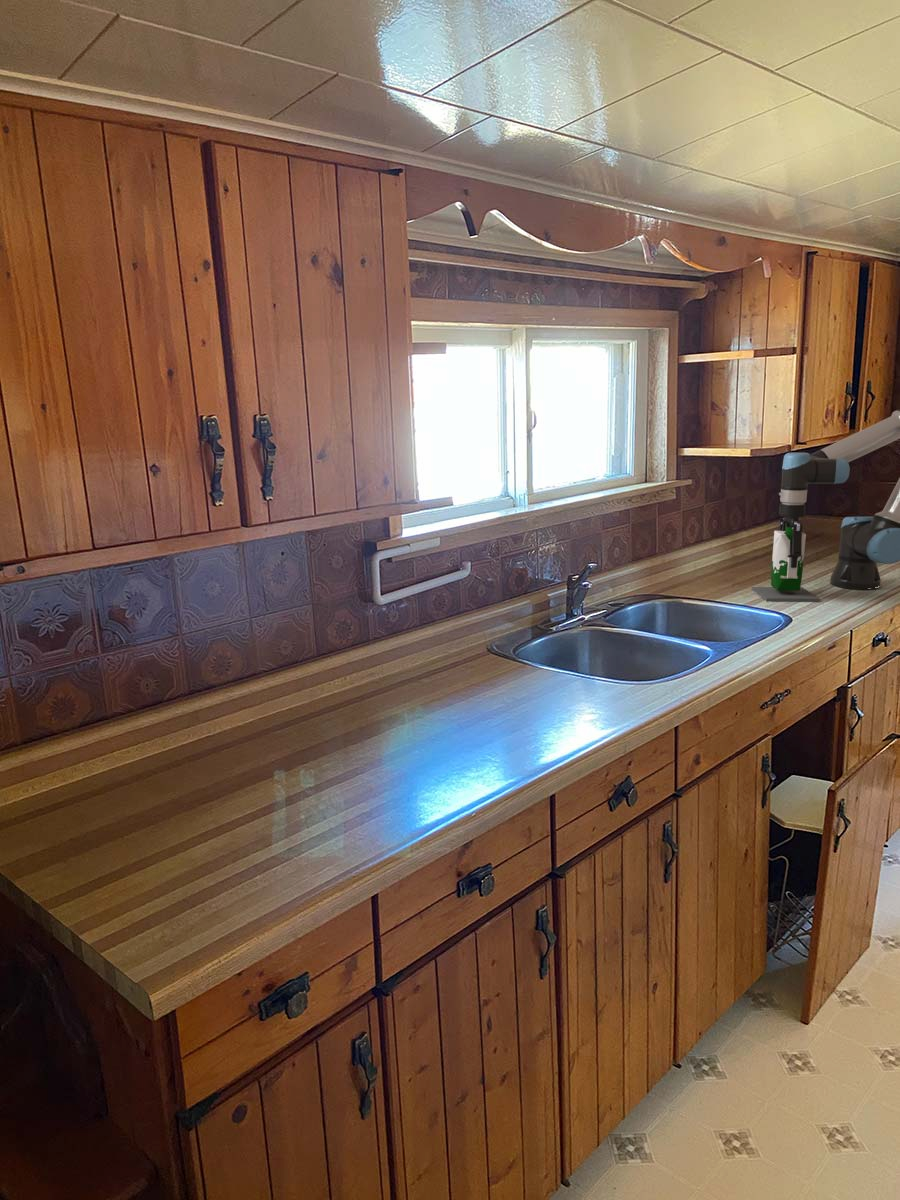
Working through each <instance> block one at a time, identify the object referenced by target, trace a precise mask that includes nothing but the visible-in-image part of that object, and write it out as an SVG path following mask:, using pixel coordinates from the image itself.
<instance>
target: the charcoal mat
mask: <svg viewBox="0 0 900 1200" xmlns="http://www.w3.org/2000/svg"><path fill="white" fill-rule="evenodd" d="M751 591H753V592H754V593H755V592H756V593H757V594H756V593H755V594H756V595H758V596H759V597H760V596H761V597H762V598H761V597H760V598H761V599H763V600H764V601H765V600H766V601H765V602H768V601H771V602H772V603H773V602H779V603H780V602H781V603H782V602H784V603H785V602H789V603H794V602H795V603H796V602H800V603H803V602H804V603H805V602H806V603H807V602H809V603H819V602H820V600H821V599H820V598H819V597H818V596H816V595H815V594H813V593H812V592H810V591H808V590H807V589H805V588H804V587H803V586H800V591H779V590H778V591H777V590H776V589H775V588H773V587H772V586H751ZM771 602H770V603H771Z"/></svg>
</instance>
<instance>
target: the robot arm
mask: <svg viewBox="0 0 900 1200" xmlns="http://www.w3.org/2000/svg"><path fill="white" fill-rule="evenodd" d="M899 439H900V408H899V409H896V410H895V411H892V413H891V416H889V417H886V418H885V419H883V420H880V421H878V422H876V423H874V424H872V425H870V426H868V427H866V428H864V429H862V430H860V431H857V432H855V433H853V434H851V435H849V436H846V437H845V438H843V439H840V440H838V441H836V442H834V443H832V444H830V445H828V446H826V447H824V448H822V449H819V450H817V451H815V452H813V453H808V452H788V453H786V454H784V455H783V460H782V467H781V468H782V470H781V486H780V492H778V496H780V497H779V500H780V503H779V508H778V516H780V517H782V518H780V519H779V529H778V531H785V529H786V527H791V528H792V529H793V531H792V541H790V555H788V569H787V578H797V566H798V557H799V556H801V555H802V532H803V524H802V523H800V521H799V518H802V517H805V515H806V504H805V503H807V495H808V486H809V485H811V484H812V485H813V484H815V485H816V484H820V485H821V484H822V485H823V484H831V485H836V484H844V483H845V482H846V481H847V480H848V479H849V477H850V472H851V471H850V469H851V468H850V465H849V463H850V462H852V461H854V460H856V459H859V458H861V457H863V456H865V455H867V454H870V453H871V452H873V451H874V452H875V451H876V450H878V449H880V448H882V447H885V446H887V445H889V444H891V443H893V442H895V441H898V440H899ZM808 484H809V485H808ZM839 537H840V538H839V549H838V559H837V563H836V565H835V567H834V569H833V571H832V573H831V575H830V582H829V584H830V585H832V586H833V587H834V586H835V587H838V588H842V589H843V588H844V589H849V588H850V590H862V589H868V588H875V587H878V586H880V587H881V576H880V571H879V567H878V564H883V565H892V564H896V563H898V562H900V477H899V478H898V480H897V482H896V485H895V486H894V487H893V490H892V492H891V494H890V496H889V498H888V500H887V501H886V503H885V506H884V508H883V509H882V510H881V511H879V512H876V513H875V514H874V516H846V517H844V518H843V520H842V522H841V526H840V536H839ZM795 552H796V553H795ZM868 590H869V589H868Z"/></svg>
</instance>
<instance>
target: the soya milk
mask: <svg viewBox="0 0 900 1200" xmlns="http://www.w3.org/2000/svg"><path fill="white" fill-rule="evenodd" d="M773 531H774V532H773V546H772V556H771V557H772V558H771V567H770V568H771V571H770V573H771V575H770V587H773V588H775V589H776V590H777V591H778V590H779V591H800V587H802V586H801V585H802V580H803V579H802V578H803V569H804V557H805V549H806V540H807V539H806V537H807V534H806V533H804V532H803V531H802V555H801V556H799V557H798V566H797V578H787V569H788V555H790V541H792V531H793V529H792V528H791V527H786V529H785V531H779V530H773ZM795 553H796V552H795Z"/></svg>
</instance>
